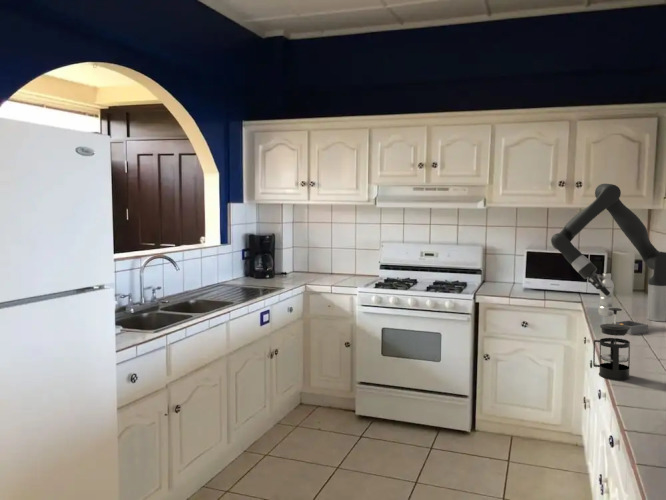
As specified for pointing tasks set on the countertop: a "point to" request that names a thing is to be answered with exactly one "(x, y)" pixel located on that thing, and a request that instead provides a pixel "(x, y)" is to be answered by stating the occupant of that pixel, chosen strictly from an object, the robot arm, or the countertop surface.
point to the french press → (613, 351)
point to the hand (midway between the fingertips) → (610, 293)
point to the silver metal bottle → (605, 300)
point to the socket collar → (634, 327)
